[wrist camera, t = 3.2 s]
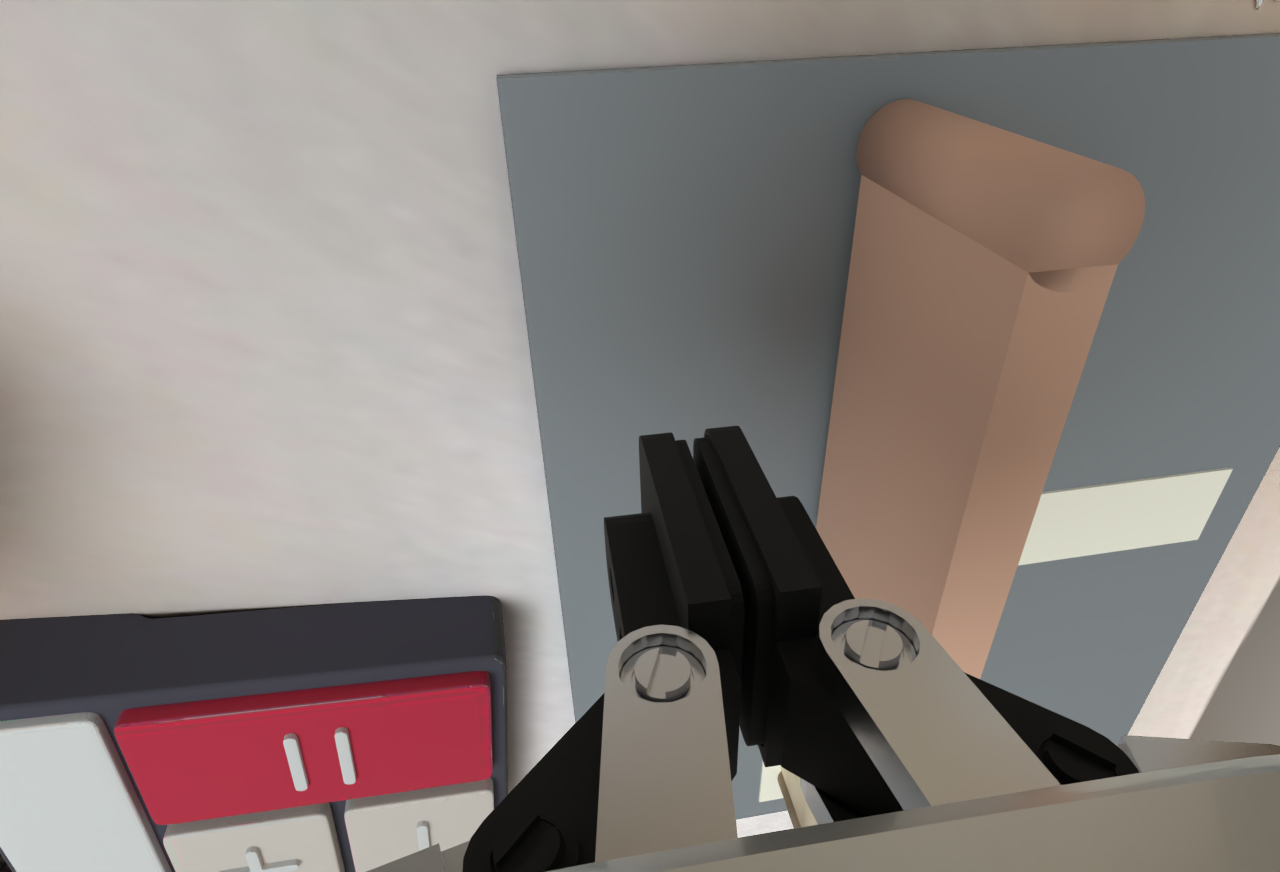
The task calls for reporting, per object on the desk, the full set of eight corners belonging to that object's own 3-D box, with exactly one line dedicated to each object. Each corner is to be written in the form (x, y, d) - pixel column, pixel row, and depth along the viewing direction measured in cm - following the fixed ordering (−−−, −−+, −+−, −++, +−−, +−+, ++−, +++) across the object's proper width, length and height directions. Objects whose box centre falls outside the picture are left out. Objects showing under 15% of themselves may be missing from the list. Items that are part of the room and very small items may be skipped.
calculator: (510, 877, 27) (38, 958, 24) (502, 772, 31) (91, 829, 27) (508, 676, 22) (-114, 745, 18) (500, 574, 25) (-22, 616, 22)
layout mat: (496, 75, 16) (496, 79, 16) (1476, 22, 19) (1507, 24, 19) (589, 831, 32) (590, 847, 32) (1109, 739, 35) (1120, 752, 35)
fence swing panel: (854, 102, 17) (1030, 172, 11) (954, 96, 17) (1175, 161, 11) (795, 598, 25) (880, 778, 19) (863, 588, 25) (965, 763, 20)
